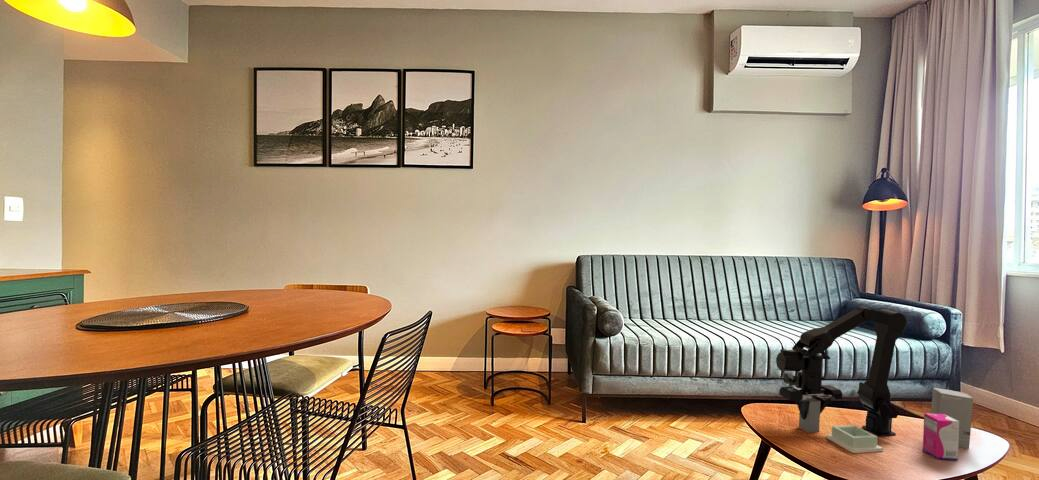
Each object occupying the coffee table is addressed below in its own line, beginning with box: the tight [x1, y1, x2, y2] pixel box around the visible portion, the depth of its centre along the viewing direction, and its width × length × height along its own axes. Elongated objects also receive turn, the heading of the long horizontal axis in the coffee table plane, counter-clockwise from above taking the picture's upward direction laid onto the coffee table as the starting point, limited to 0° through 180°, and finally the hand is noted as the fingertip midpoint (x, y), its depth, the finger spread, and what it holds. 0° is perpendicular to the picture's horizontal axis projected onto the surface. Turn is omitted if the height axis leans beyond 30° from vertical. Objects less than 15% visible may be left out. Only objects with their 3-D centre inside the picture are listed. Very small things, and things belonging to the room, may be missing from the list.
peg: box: [798, 396, 821, 433], centre depth 155 cm, size 4×4×10 cm
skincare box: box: [930, 387, 974, 450], centre depth 148 cm, size 8×7×16 cm
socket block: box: [825, 424, 884, 454], centre depth 145 cm, size 10×10×4 cm
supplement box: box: [922, 412, 959, 461], centre depth 139 cm, size 6×6×12 cm
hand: (809, 418), depth 155 cm, fingers closed on peg, 4 cm apart
